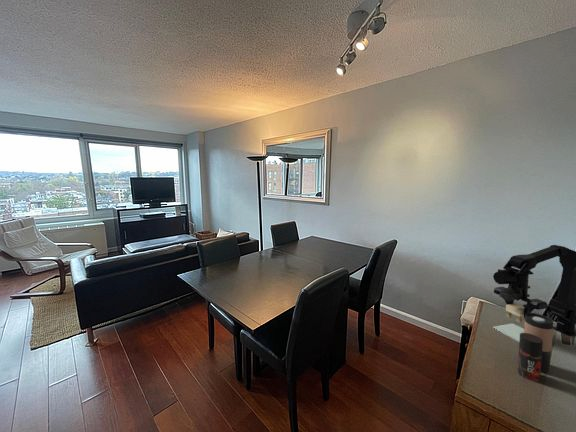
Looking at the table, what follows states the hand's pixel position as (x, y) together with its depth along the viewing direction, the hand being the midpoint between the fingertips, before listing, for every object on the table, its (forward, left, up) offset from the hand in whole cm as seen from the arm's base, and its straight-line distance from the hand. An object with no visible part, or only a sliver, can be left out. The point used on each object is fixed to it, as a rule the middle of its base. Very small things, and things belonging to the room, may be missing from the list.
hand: (517, 314), depth 112 cm
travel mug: (+16, +18, -10) cm, 26 cm away
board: (0, 0, -10) cm, 10 cm away
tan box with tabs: (0, 0, -2) cm, 2 cm away
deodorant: (+24, +21, -10) cm, 33 cm away
